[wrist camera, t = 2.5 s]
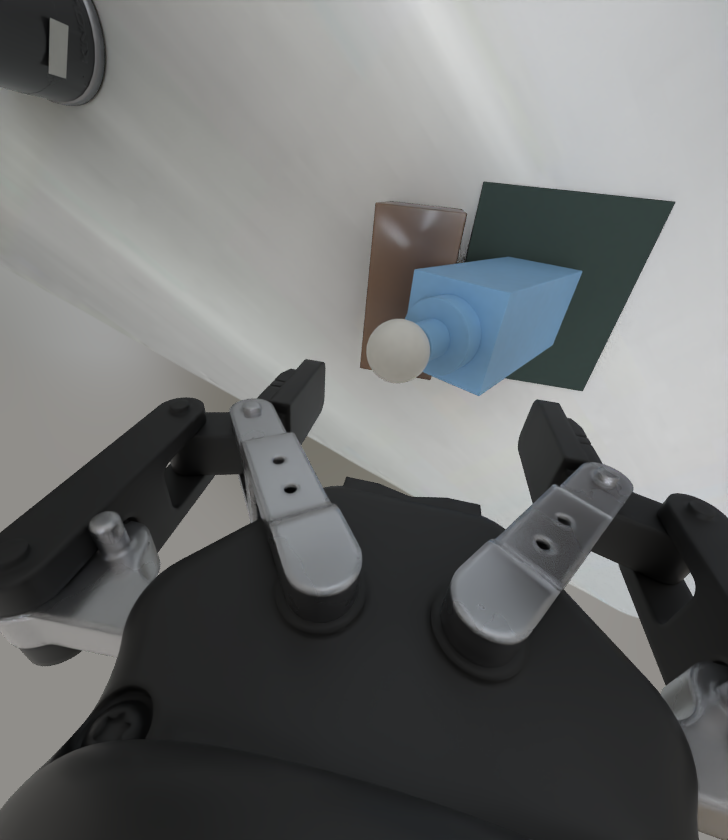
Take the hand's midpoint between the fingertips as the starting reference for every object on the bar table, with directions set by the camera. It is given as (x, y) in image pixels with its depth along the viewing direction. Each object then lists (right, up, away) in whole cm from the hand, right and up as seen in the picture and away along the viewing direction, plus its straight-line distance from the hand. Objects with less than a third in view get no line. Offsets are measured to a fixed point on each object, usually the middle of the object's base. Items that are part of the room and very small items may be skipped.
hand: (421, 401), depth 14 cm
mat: (+13, +10, +18) cm, 25 cm away
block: (+2, +12, +19) cm, 23 cm away
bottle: (+8, +11, +18) cm, 23 cm away
